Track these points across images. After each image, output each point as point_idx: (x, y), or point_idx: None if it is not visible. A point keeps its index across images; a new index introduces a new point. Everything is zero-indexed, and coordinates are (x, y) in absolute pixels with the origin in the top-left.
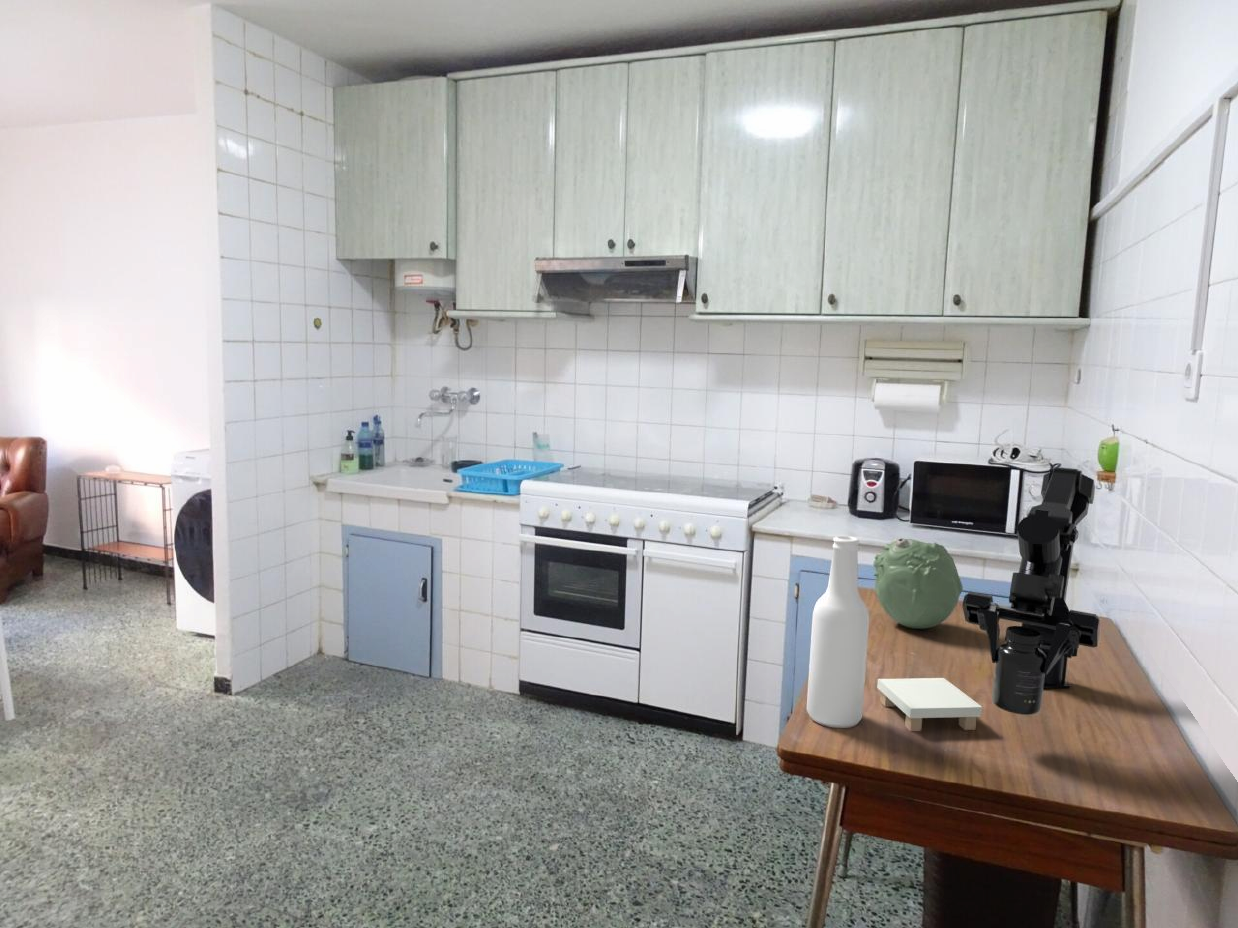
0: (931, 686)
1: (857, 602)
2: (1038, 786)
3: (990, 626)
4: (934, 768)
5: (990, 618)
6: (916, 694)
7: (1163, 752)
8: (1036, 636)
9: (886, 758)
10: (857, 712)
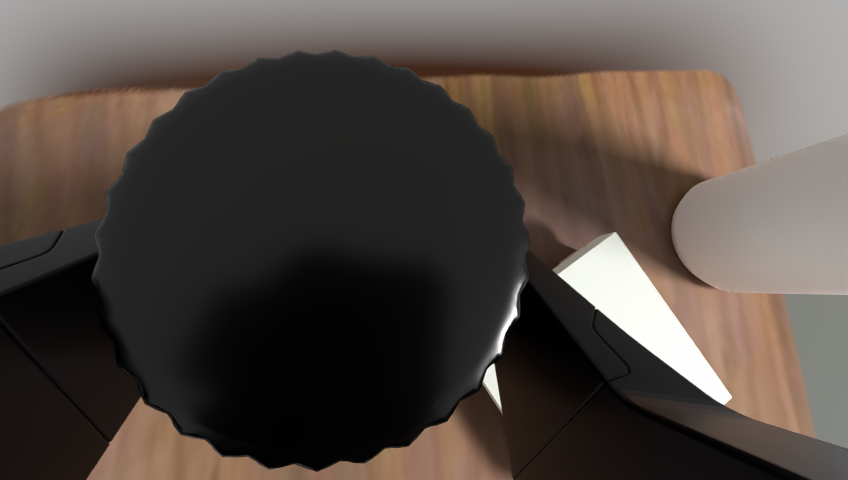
0: None
1: None
2: None
3: (672, 387)
4: (509, 107)
5: (789, 449)
6: None
7: None
8: (180, 107)
9: (588, 107)
10: (697, 203)
